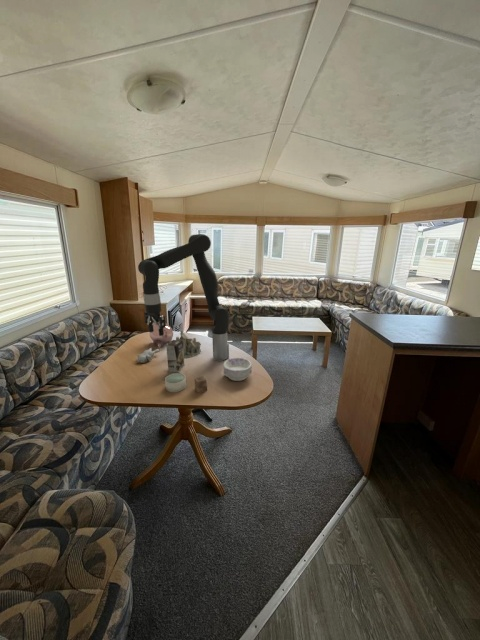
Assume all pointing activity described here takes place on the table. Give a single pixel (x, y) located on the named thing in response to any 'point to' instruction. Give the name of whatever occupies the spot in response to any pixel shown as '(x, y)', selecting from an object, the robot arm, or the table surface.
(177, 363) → the coffee box
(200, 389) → the walnut block
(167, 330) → the piggy bank
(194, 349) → the ceramic cottage
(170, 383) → the ceramic bowl
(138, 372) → the table surface
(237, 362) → the white purple floral bowl
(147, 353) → the bunny figurine
